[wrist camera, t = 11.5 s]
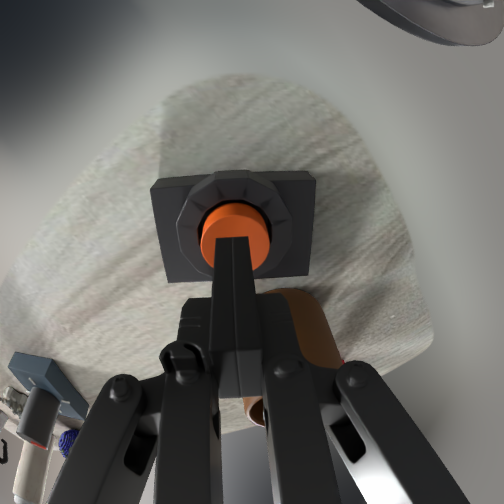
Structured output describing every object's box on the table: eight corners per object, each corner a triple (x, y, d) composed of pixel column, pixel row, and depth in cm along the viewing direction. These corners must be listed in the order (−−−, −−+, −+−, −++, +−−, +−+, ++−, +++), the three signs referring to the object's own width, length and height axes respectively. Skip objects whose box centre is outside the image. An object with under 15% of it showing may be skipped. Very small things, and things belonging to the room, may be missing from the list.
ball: (103, 439, 42) (98, 470, 36) (90, 442, 44) (85, 470, 38) (70, 422, 39) (62, 454, 32) (60, 427, 41) (53, 455, 34)
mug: (179, 316, 24) (164, 409, 16) (213, 249, 21) (206, 350, 13) (291, 351, 28) (308, 433, 20) (337, 300, 24) (374, 387, 16)
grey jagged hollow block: (4, 382, 32) (-3, 397, 29) (35, 399, 35) (28, 416, 31) (13, 402, 37) (8, 416, 33) (41, 417, 39) (36, 432, 36)
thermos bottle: (32, 429, 45) (14, 510, 21) (27, 420, 42) (6, 508, 18) (57, 441, 48) (42, 523, 24) (53, 433, 44) (36, 524, 20)
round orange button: (200, 204, 15) (197, 217, 14) (266, 200, 15) (270, 213, 14) (206, 259, 17) (204, 277, 16) (266, 256, 17) (269, 273, 16)
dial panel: (12, 351, 27) (4, 367, 24) (55, 359, 27) (47, 378, 25) (50, 397, 33) (45, 411, 31) (92, 406, 34) (88, 422, 31)
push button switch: (156, 168, 17) (138, 186, 14) (307, 160, 18) (326, 176, 14) (172, 266, 21) (163, 300, 18) (301, 259, 22) (314, 291, 18)
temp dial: (39, 400, 29) (25, 443, 22) (26, 383, 26) (9, 429, 19) (65, 409, 29) (53, 455, 22) (53, 392, 27) (37, 442, 20)
